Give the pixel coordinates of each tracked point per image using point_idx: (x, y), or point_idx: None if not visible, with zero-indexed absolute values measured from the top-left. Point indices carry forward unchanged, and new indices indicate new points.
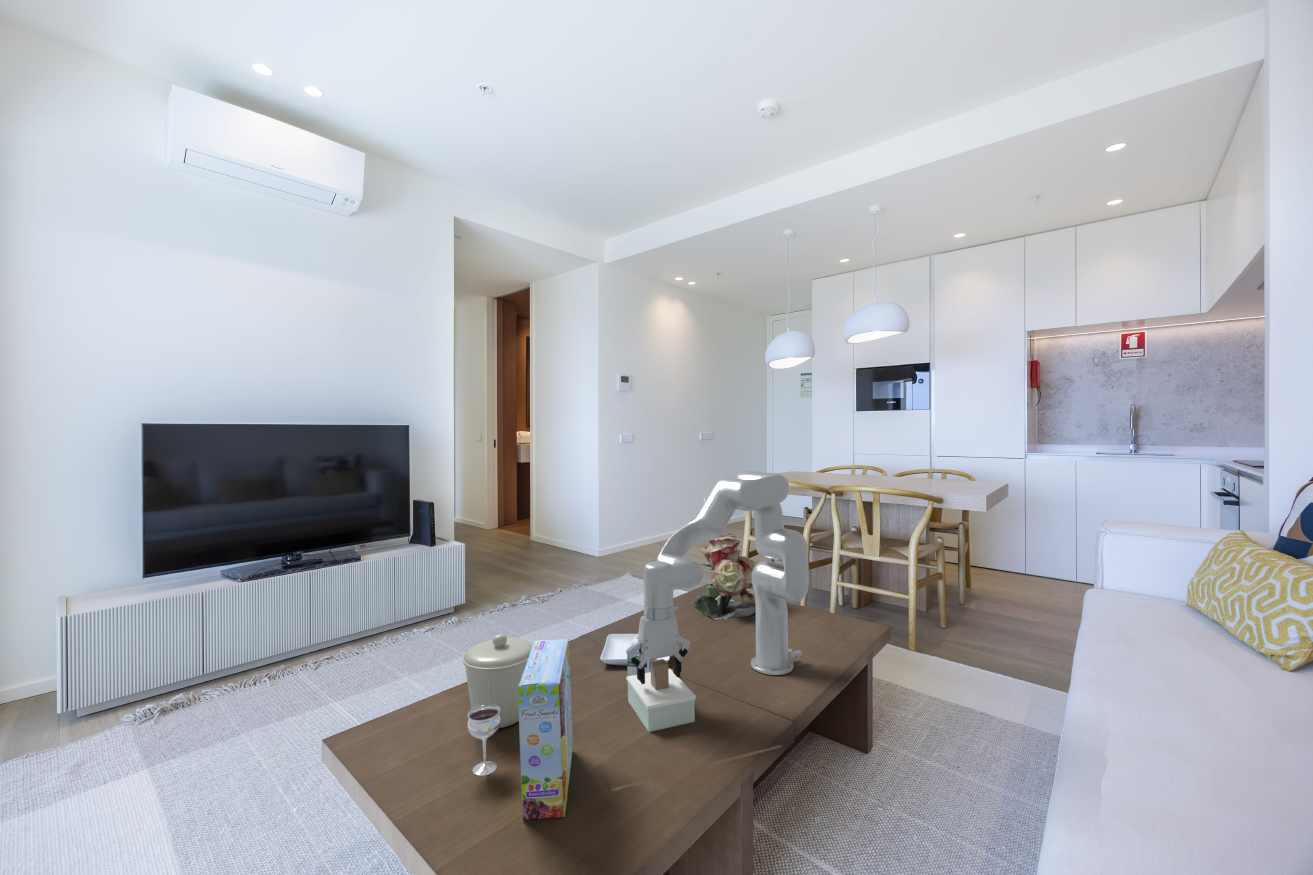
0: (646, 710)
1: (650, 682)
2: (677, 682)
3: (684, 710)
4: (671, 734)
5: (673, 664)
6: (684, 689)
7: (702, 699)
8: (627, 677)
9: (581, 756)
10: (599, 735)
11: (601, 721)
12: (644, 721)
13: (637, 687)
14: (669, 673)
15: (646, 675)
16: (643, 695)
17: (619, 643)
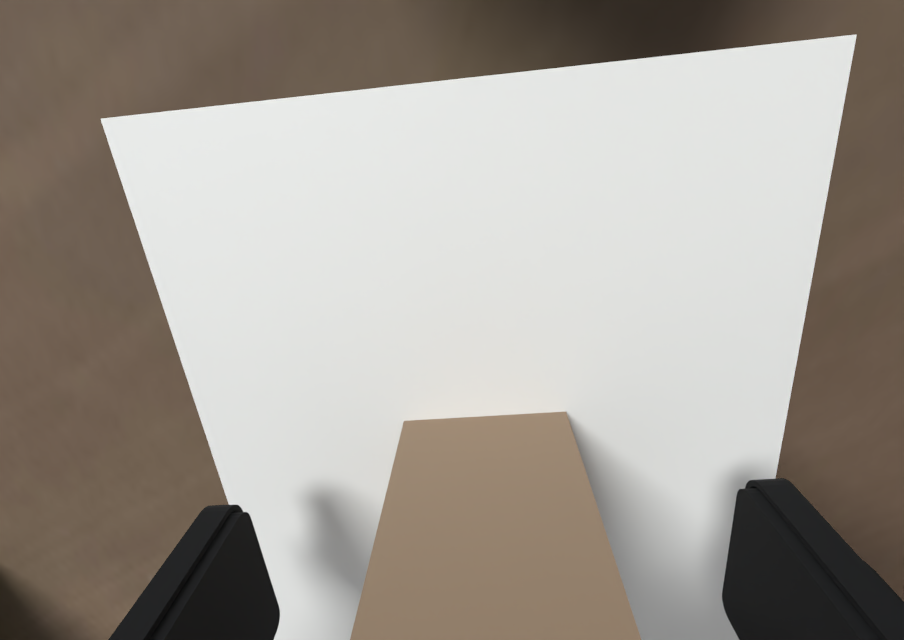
0: None
1: (408, 381)
2: (711, 469)
3: None
4: None
5: (828, 618)
6: (701, 602)
7: (871, 274)
8: (121, 156)
9: (24, 587)
10: (87, 471)
11: (81, 342)
12: None
13: (243, 441)
14: (744, 217)
15: (400, 177)
16: (287, 586)
17: None
